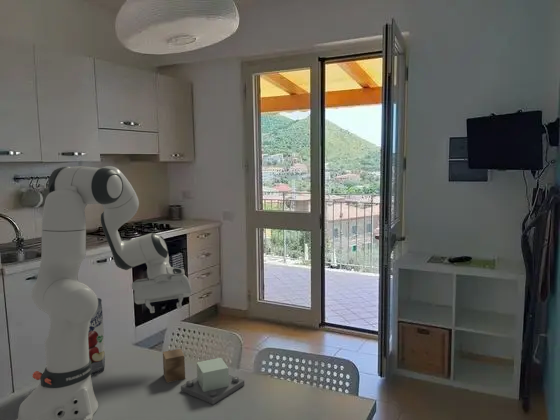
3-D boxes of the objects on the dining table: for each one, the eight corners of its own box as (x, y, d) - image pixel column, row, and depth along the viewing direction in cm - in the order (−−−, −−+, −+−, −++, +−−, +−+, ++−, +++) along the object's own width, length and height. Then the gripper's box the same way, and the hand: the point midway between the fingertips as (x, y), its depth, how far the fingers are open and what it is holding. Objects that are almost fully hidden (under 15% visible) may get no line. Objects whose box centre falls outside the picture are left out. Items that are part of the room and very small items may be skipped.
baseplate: (213, 404, 129) (212, 380, 128) (180, 390, 137) (180, 367, 137) (244, 384, 140) (243, 362, 140) (212, 373, 149) (212, 351, 148)
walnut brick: (166, 382, 143) (165, 359, 142) (163, 374, 148) (162, 351, 147) (185, 378, 145) (184, 355, 144) (181, 371, 151) (180, 348, 150)
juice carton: (66, 374, 149) (60, 297, 147) (95, 363, 157) (91, 289, 155) (78, 382, 144) (73, 302, 141) (108, 370, 152) (104, 294, 149)
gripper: (131, 276, 158) (135, 310, 150) (188, 268, 166) (195, 301, 158) (130, 285, 162) (135, 319, 154) (186, 277, 170) (193, 309, 163)
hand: (166, 310), depth 156 cm, fingers open, 8 cm apart
